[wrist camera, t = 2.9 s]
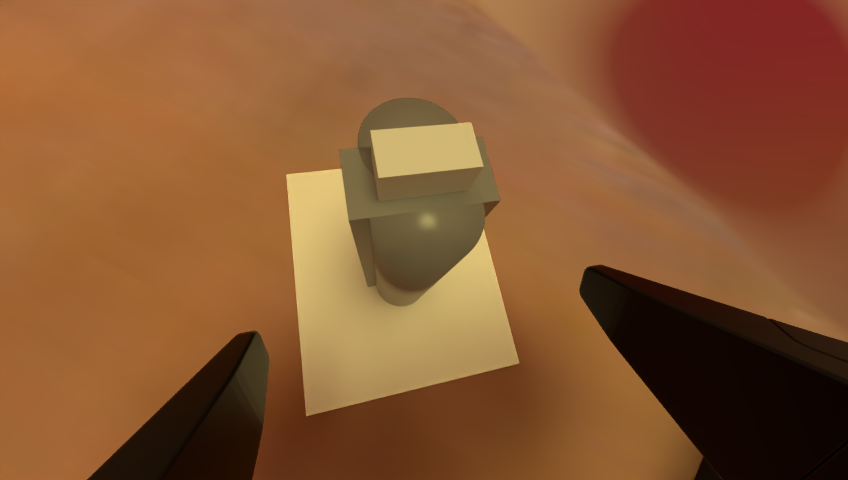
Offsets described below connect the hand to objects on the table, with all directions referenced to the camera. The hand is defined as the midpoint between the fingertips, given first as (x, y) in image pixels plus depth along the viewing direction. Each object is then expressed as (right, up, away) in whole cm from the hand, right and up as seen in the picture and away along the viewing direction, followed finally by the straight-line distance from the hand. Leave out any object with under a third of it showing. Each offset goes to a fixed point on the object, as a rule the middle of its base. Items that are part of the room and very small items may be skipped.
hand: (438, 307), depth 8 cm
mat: (-2, 0, +11) cm, 11 cm away
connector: (-2, 0, +10) cm, 10 cm away
